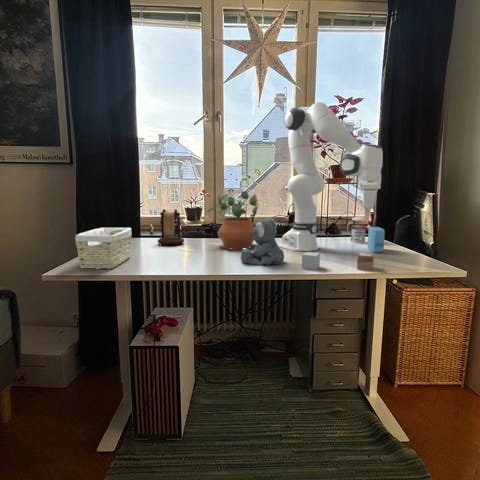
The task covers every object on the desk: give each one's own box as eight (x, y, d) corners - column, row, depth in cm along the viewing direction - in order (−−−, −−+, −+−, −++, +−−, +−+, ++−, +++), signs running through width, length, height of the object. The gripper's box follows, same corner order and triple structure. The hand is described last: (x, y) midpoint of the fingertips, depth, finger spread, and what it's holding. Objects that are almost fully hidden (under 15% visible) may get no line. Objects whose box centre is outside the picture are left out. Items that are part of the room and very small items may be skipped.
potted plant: (256, 251, 180) (257, 192, 175) (203, 250, 183) (201, 192, 177) (258, 243, 202) (259, 190, 197) (210, 242, 205) (210, 190, 200)
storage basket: (101, 257, 168) (99, 226, 165) (134, 257, 167) (133, 227, 164) (75, 270, 144) (72, 235, 142) (114, 270, 143) (112, 235, 141)
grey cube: (301, 268, 147) (302, 254, 146) (305, 265, 153) (306, 251, 152) (315, 270, 145) (316, 256, 144) (319, 266, 150) (320, 253, 149)
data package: (383, 253, 176) (385, 229, 174) (374, 253, 177) (375, 229, 175) (375, 248, 188) (377, 226, 186) (367, 248, 188) (368, 226, 186)
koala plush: (256, 256, 170) (256, 216, 167) (290, 260, 161) (292, 218, 158) (238, 263, 156) (238, 219, 152) (274, 268, 147) (275, 222, 143)
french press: (369, 244, 199) (372, 200, 195) (348, 244, 199) (351, 200, 195) (363, 241, 209) (366, 199, 204) (343, 241, 209) (346, 199, 205)
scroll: (154, 246, 193) (152, 210, 190) (162, 241, 208) (161, 207, 204) (180, 247, 191) (178, 210, 188) (187, 242, 206) (186, 208, 202)
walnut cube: (358, 255, 144) (357, 269, 145) (373, 256, 143) (372, 270, 144) (357, 252, 150) (356, 266, 151) (372, 253, 148) (371, 267, 149)
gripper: (360, 183, 156) (358, 214, 158) (361, 184, 136) (359, 220, 139) (375, 183, 154) (373, 215, 156) (379, 185, 135) (376, 220, 137)
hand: (366, 217), depth 147 cm, fingers closed
